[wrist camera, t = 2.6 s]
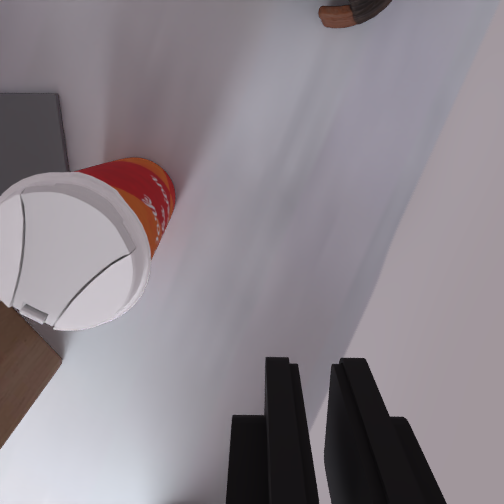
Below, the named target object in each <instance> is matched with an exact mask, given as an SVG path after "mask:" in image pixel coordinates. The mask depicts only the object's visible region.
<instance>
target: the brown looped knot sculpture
mask: <svg viewBox="0 0 504 504" xmlns="http://www.w3.org/2000/svg"><path fill="white" fill-rule="evenodd" d="M391 1H392V0H349V2H350V5H343V6H321V7H320V8H319V12H318V14H319V17H320V19H321V20H322V23H323V25H324V26H325V27H330V28H345V27H349V26H354V25H356V24H361V23H363V22H365V21H367V20H369V19H371V18H373V17H375V16H376V15H377V14H379V13H380V12H381V11H382V10H384V9H385V8H386V7H387V6H388V5H389V3H390V2H391Z"/></svg>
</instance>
